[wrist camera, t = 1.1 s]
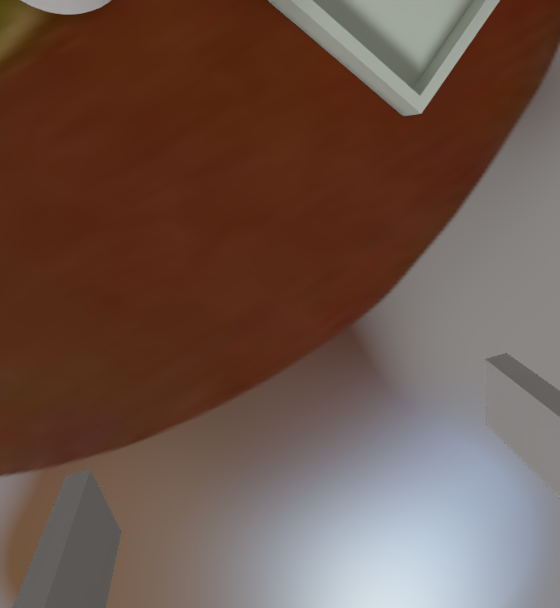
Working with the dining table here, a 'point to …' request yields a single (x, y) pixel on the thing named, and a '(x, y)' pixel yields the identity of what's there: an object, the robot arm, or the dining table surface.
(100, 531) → the robot arm
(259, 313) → the dining table surface
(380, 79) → the tray
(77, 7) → the cup
